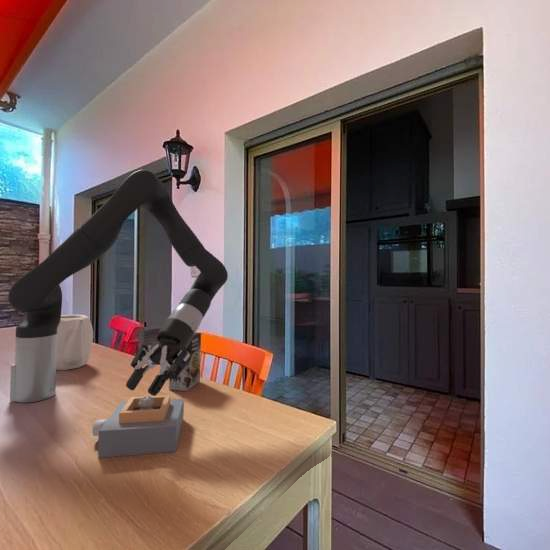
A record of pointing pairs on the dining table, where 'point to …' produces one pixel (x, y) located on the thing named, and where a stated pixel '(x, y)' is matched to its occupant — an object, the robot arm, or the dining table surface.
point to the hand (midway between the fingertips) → (140, 390)
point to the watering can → (73, 341)
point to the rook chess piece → (146, 403)
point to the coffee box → (189, 367)
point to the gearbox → (140, 428)
